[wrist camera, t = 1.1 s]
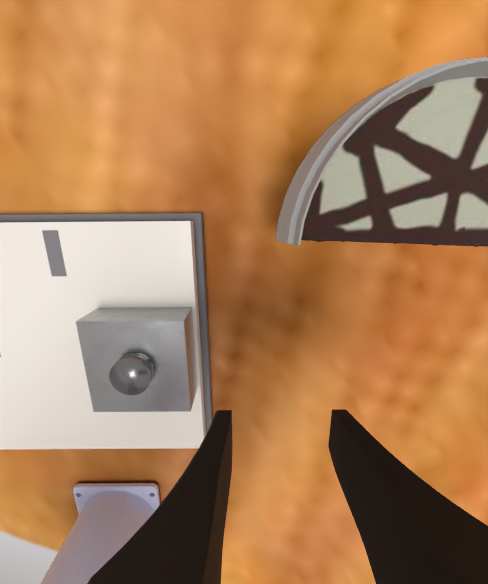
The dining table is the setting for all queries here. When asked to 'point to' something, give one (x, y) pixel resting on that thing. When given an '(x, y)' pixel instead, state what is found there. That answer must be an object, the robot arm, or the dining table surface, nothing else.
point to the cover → (139, 358)
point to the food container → (400, 166)
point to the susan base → (200, 273)
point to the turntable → (64, 336)
